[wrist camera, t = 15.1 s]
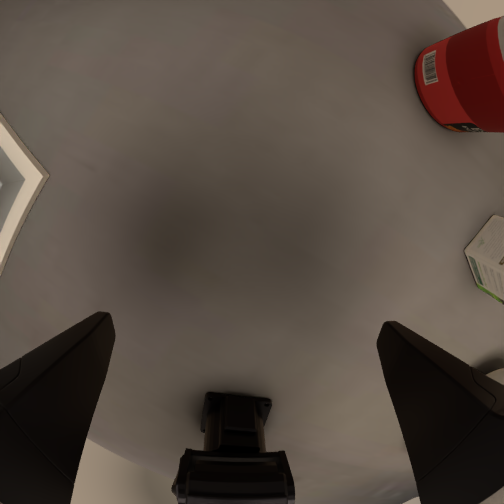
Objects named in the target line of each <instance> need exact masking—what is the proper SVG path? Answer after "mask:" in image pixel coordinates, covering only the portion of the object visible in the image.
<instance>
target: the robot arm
mask: <svg viewBox="0 0 504 504" xmlns="http://www.w3.org/2000/svg"><path fill="white" fill-rule="evenodd" d="M114 342H115V329H114V325H113V321H112V317H111V315H110V313H108V312H101V311H99V312H96V313H95V314H93V315H91V316H89V317H88V318H86V319H84V320H83V321H81V322H79V323H77V324H76V325H74V326H72V327H71V328H69V329H67V330H65V331H64V332H62V333H60V334H59V335H57V336H55V337H54V338H52V339H50V340H49V341H47V342H45V343H44V344H42V345H40V346H39V347H37V348H35V349H34V350H32V351H30V352H29V353H27V354H25V355H24V356H22V358H19V359H17V360H16V361H14V362H12V363H11V364H9V365H7V366H5V367H4V368H2V369H0V504H70V502H71V498H72V493H73V488H74V483H75V479H76V475H77V471H78V467H79V462H80V459H81V455H82V451H83V448H84V444H85V441H86V437H87V434H88V431H89V427H90V424H91V421H92V417H93V414H94V411H95V408H96V405H97V402H98V399H99V396H100V393H101V390H102V387H103V384H104V381H105V378H106V375H107V371H108V366H109V362H110V358H111V354H112V350H113V346H114ZM377 349H378V353H379V357H380V361H381V365H382V370H383V374H384V378H385V382H386V385H387V388H388V391H389V394H390V397H391V400H392V403H393V406H394V409H395V412H396V415H397V418H398V421H399V424H400V428H401V431H402V434H403V437H404V441H405V444H406V448H407V451H408V455H409V458H410V462H411V465H412V469H413V473H414V477H415V481H416V485H417V490H418V494H419V497H420V502H421V504H504V385H503V384H501V383H499V382H497V381H495V380H494V379H492V378H490V377H488V376H486V375H485V374H483V373H481V372H480V371H478V370H476V369H475V368H473V367H471V366H469V365H468V364H466V363H465V362H463V361H461V360H460V359H458V358H457V357H455V356H453V355H452V354H450V353H448V352H447V351H445V350H443V349H442V348H440V347H438V346H437V345H435V344H433V343H432V342H430V341H428V340H427V339H425V338H423V337H422V336H420V335H418V334H417V333H415V332H413V331H412V330H410V329H408V328H407V327H405V326H403V325H402V324H400V323H398V322H397V321H386V322H384V324H383V326H382V328H381V331H380V334H379V336H378V339H377ZM210 397H212V398H210ZM266 403H268V404H266ZM271 406H272V401H271V400H270V399H262V398H251V397H241V396H233V395H225V394H217V393H207V394H206V395H205V402H204V409H203V416H202V423H201V432H203V433H205V439H204V451H200V450H192V449H188V448H186V450H185V454H184V455H183V456H182V457H181V458H180V464H179V470H178V474H177V476H176V478H175V480H174V483H173V485H172V493H174V495H175V496H176V497H177V501H178V504H295V487H294V481H293V477H292V473H291V470H290V467H289V464H288V460H287V457H286V454H285V451H278V452H266V448H265V438H264V428H263V427H264V425H265V422H266V420H267V417H268V414H269V412H270V409H271Z"/></svg>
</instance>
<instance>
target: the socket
mask: <svg viewBox="0 0 504 504" xmlns="http://www.w3.org/2000/svg"><path fill="white" fill-rule="evenodd" d="M49 176H50V175H49V174H48V173H47V171H46V170H45V169H44V168H43V167H42V166H41V164H40V163H39V162H38V161H37V160H36V158H35V157H34V156H33V155H32V153H31V152H30V151H29V150H28V148H27V147H26V146H25V145H24V143H23V142H22V141H21V140H20V138H19V137H18V136H17V134H16V133H15V132H14V130H13V129H12V128H11V127H10V125H9V124H8V122H7V121H6V120H5V118H4V117H3V116H2V114H1V113H0V277H1V274H2V272H3V269H4V266H5V264H6V261H7V259H8V256H9V254H10V252H11V249H12V247H13V245H14V242H15V240H16V238H17V236H18V234H19V231H20V229H21V227H22V225H23V223H24V221H25V219H26V217H27V215H28V213H29V211H30V209H31V207H32V206H33V204H34V202H35V200H36V198H37V196H38V195H39V193H40V191H41V189H42V188H43V186H44V184H45V183H46V181H47V179H48V178H49Z"/></svg>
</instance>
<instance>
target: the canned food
mask: <svg viewBox="0 0 504 504" xmlns="http://www.w3.org/2000/svg"><path fill="white" fill-rule="evenodd" d="M415 83H416V87H417V90H418V93H419V96H420V98H421V101H422V102H423V104H424V106H425V108H426V109H427V111H428V112H429V113H430V115H431V116H432V117H433V118H434V119H435V120H436V121H437V122H438V123H440V124H441V125H442V126H444V127H446V128H448V129H451V130H453V131H457V132H504V16H502V17H499V18H495V19H492V20H490V21H487V22H484V23H482V24H479V25H477V26H474V27H472V28H469V29H467V30H464V31H462V32H460V33H457V34H455V35H453V36H451V37H448V38H446V39H444V40H442V41H440V42H437V43H435V44H433V45H431V46H429V47H427V48H425V49H424V50H423V51H422V53H421V54H420V55H419V57H418V59H417V61H416V64H415Z"/></svg>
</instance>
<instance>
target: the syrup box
mask: <svg viewBox="0 0 504 504" xmlns="http://www.w3.org/2000/svg"><path fill="white" fill-rule="evenodd" d="M464 252H465V254H466V256H467V259H468V261H469V265H470V267H471V270H472V272H473V275H474V278H475V281H476V283H477V286H478V288H479V289H481V290H483V291H484V292H486V293H487V294H489V295H490V296H492V297H493V298H495V299H496V300H498V301H499V302H501V303H502V304H504V218H503V217H500V216H497V215H493V216H492V217H491V218H490V219H489V220H488V222H487V223H486V224H485V225H484V226H483V228H482V229H481V230H480V231H479V233H478V234H477V235H476V236H475V238H474V239H473V240H472V241H471V242H470V244H469V245H468V246H467V247H466V249H465V250H464Z"/></svg>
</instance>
